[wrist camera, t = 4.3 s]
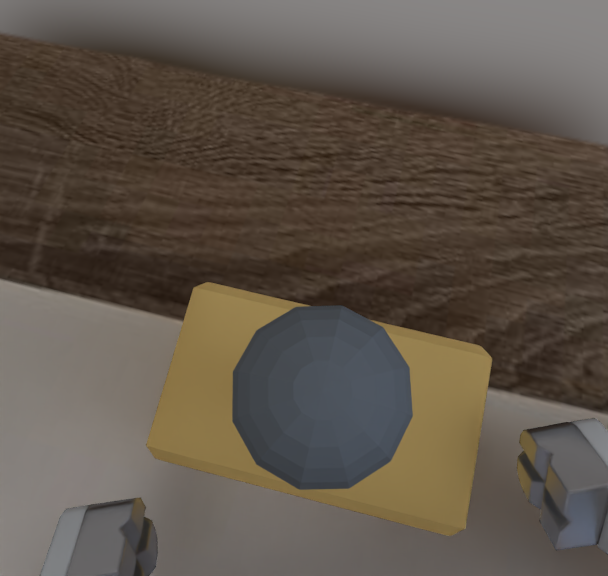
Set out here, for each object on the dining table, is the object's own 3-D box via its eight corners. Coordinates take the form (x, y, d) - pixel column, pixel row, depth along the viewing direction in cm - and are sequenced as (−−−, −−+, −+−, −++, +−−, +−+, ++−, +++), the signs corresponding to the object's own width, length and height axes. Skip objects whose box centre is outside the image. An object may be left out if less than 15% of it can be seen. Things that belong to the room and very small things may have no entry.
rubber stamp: (172, 448, 19) (-46, 500, 8) (215, 300, 21) (84, 152, 9) (436, 517, 19) (641, 692, 7) (463, 359, 20) (674, 282, 8)
